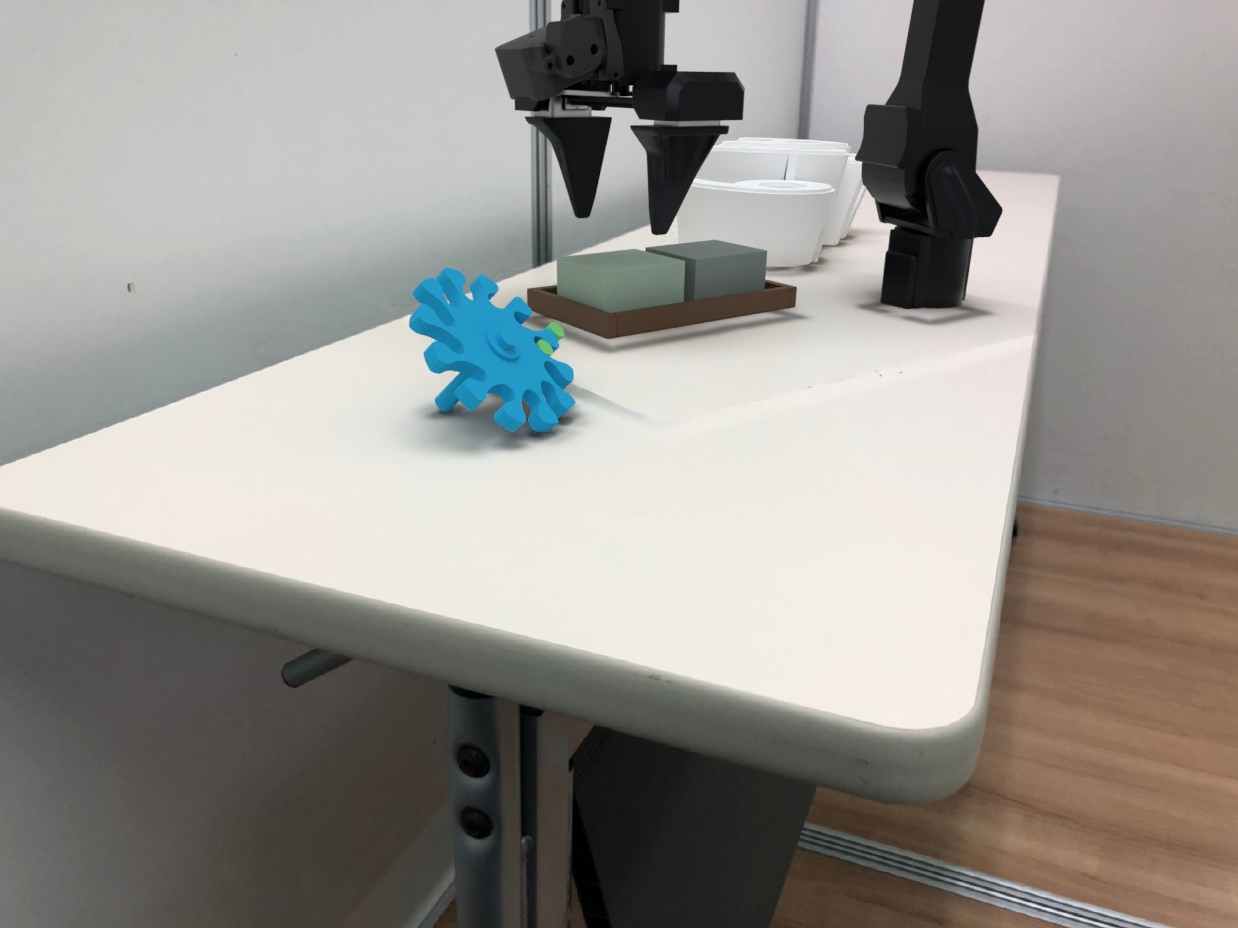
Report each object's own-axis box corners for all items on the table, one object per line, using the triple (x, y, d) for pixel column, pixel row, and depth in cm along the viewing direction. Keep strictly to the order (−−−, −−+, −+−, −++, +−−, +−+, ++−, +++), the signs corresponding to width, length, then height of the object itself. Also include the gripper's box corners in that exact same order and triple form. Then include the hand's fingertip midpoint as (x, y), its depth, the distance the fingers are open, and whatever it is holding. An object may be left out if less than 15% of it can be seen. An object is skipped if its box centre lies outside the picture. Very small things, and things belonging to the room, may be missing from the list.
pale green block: (634, 301, 74) (635, 248, 73) (683, 316, 70) (685, 260, 68) (557, 312, 71) (556, 257, 69) (604, 329, 66) (604, 270, 65)
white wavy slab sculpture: (753, 222, 120) (758, 132, 116) (887, 232, 114) (898, 137, 110) (639, 269, 90) (641, 151, 86) (812, 286, 84) (823, 160, 80)
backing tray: (705, 292, 81) (707, 265, 81) (794, 316, 74) (797, 286, 73) (527, 319, 72) (526, 288, 71) (608, 350, 64) (608, 316, 63)
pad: (712, 289, 79) (714, 239, 77) (764, 302, 74) (767, 250, 73) (644, 299, 75) (645, 247, 73) (693, 314, 70) (696, 259, 69)
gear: (498, 433, 44) (387, 259, 46) (426, 500, 47) (325, 335, 49) (623, 402, 53) (527, 258, 55) (556, 459, 57) (467, 322, 58)
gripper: (442, -21, 65) (454, 218, 70) (602, -45, 51) (600, 256, 56) (581, -11, 71) (581, 208, 77) (758, -30, 57) (741, 240, 63)
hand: (618, 225), depth 68 cm, fingers open, 9 cm apart
